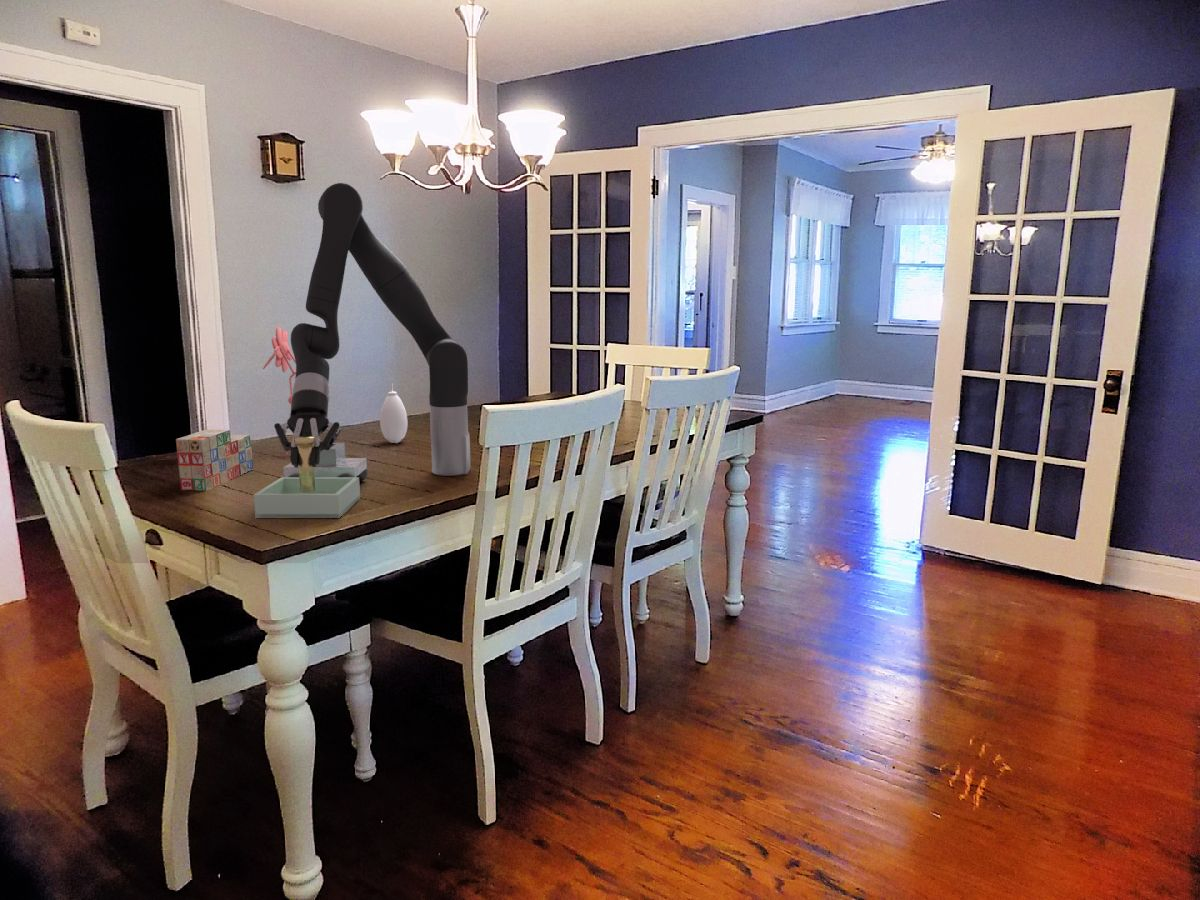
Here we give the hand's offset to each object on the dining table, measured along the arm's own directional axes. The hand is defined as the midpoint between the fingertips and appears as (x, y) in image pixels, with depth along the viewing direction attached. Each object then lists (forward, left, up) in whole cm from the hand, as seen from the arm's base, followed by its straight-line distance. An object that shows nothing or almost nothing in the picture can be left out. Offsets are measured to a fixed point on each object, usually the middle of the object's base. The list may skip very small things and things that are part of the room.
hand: (304, 465), depth 168 cm
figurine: (+26, -61, -10) cm, 67 cm away
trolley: (+2, -20, -10) cm, 22 cm away
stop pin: (0, -2, -6) cm, 6 cm away
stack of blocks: (+31, -28, -10) cm, 43 cm away
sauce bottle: (-1, -74, -10) cm, 75 cm away
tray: (0, -2, -10) cm, 10 cm away
